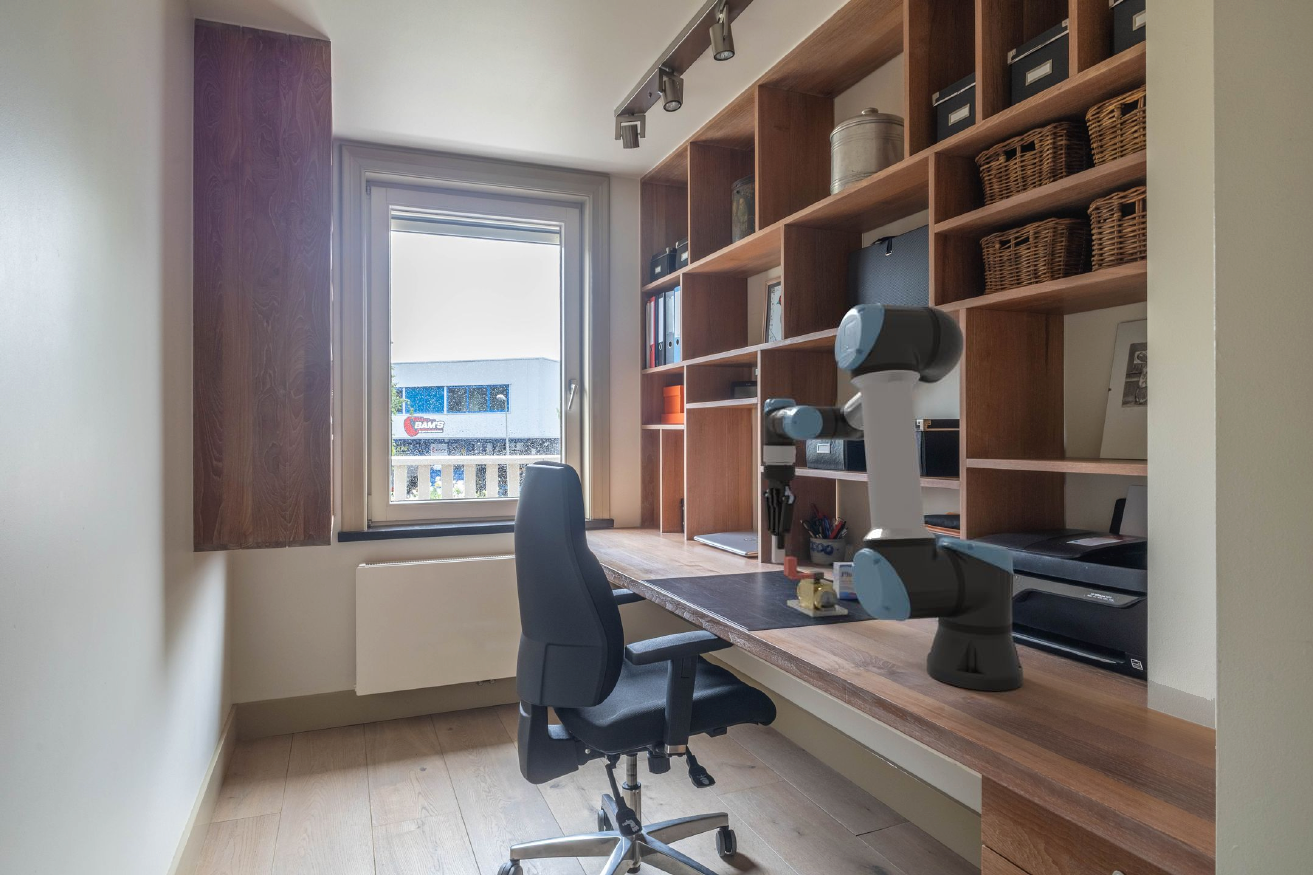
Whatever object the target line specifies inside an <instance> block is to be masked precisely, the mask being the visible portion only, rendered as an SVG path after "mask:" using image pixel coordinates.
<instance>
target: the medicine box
mask: <svg viewBox="0 0 1313 875" xmlns="http://www.w3.org/2000/svg"><path fill="white" fill-rule="evenodd" d="M853 563H854V562H853V561H847V562H846V561H841V562H840V561H837V562H835V561H834V562H833V582H832V583H833V584H834V586H833V589H835V591H836V592H837V596H838V599H839V600H859V599H858V597H857V595H856V592H855V589H854V586H853V581H852V572H851V570H852V564H853Z"/></svg>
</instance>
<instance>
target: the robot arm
mask: <svg viewBox="0 0 1313 875" xmlns="http://www.w3.org/2000/svg"><path fill="white" fill-rule="evenodd" d="M835 337H836V338H835V344H834V358H835V362H836V364H837V365H838V367H839V368H840V369H841V370H843V371H845V372H849V375H850V385H851V386H853V388H855V389H856V390H857V391H858V393H856V394H855V395H854V396H853V397H852V398H851V399H850V400H848V402H846V403H845V404H844V405H843V406H809V405H797V402H796V401H795V399H792V398H769V399H768V398H767V400H766V401H765V402H764V408H763V462H764V463H765V464H764V465H763V473H762V474H763V476H762V477H763V478H762V479H764V480H765V481H768V484H767V490H763V491H762V496H763V500H764V509H765V510H764V511H765V519H766V520H765V521H766V530H767V531H769V533H770V534H771V563H773V564H784V557H786V537H787V535H790V534H791V531H792V524H793V518H794V516H793V515H794V510H795V504H796V500H797V495H796V494H792V492H791V490H792V487H791V481H795V479H796V465H795V464H793V463H796V454H797V450H796V444H797V443H796V441H810V440H811V441H812V440H815V441H816V440H817V441H818V440H819V441H824V440H825V441H826V440H829V441H830V440H831V441H833V440H834V441H836V440H837V441H838V440H839V441H854V442H855V441H857V442H858V441H862V440H864V451H865V464H866V466H865V467H866V475H867V478H866V480H867V488H868V489H867V490H868V491H867V492H868V501H869V502H868V503H869V512H870V513H869V514H870V526H871V528H870V530H869V531H868V532H867V534H866V535H865V536H864V537H863V539H862V541H863V548H862V549H860V550H859V551H857V552H856V553H855V555H854V556H853V559H852V562H854V563H853V564H852V570H851V572H852V581H853V586H854V589H855V592H856V595H857V597H858V599H857V600H858V602H859V603H860V605H862V607H863V610H865V611H866V612H867V613H868V614H869V615H870V616H872V617H873V618H875V619H878V620H880V621H881V620H882V621H896V622H897V621H898V622H905V621H906V620H908V621H909V620H924V619H938V620H937V629H936V633H935V634H934V638H933V641H932V644H931V648H930V651H929V652H928V654H927V656H926V672H927V674H928V675H929V676H931V677H932V678H933V679H936V680H937V681H939V682H942V683H945V684H948V685H950V686H956V687H960V688H962V689H963V688H965V689H970V690H976V691H985V692H986V691H989V692H993V691H994V692H1003V691H1011V690H1014V689H1018V688H1020V687H1022V686H1023V683H1024V668H1023V666H1022V664H1021V662H1020V658H1019V654H1018V650H1017V647H1016V643H1015V641H1014V637H1013V595H1014V590H1013V589H1014V588H1013V587H1014V576H1015V572H1014V565H1013V564H1014V563H1013V562H1014V561H1013V555H1012V554H1013V553H1011V551H1010V550H1009V549H1008V548H1006V547H1004V546H1001V545H997V544H992V543H988V542H982V541H976V540H971V539H964V538H963V539H962V538H956V537H955V538H954V537H947V536H945V537H941V538H939V542H938V543H937V539H936V535H934V533H933V532H932V531H930V530H929V529H928V528H927V527H926V524H925V514H924V506H923V505H924V504H923V494H922V493H923V492H922V480H921V470H920V462H919V461H920V460H919V451H918V449H919V448H918V440H917V429H916V428H917V427H916V419H915V418H916V417H915V406H914V398H913V397H914V396H913V395H914V394H915V393H916V392H917V391H919V390H920V389H922V388H923V387H924V386H926V385H929V384H935V383H938V382H940V381H941V380H942V379H943V378H945V377H946V376H947V375H949V374H950V373H951V372H952V371H953V370H954V369H955V367H956V366H957V365H958V364H959V362H960V360H961V358H962V355H963V351H964V346H965V345H964V344H965V340H964V334H963V331H962V328H961V326H960V324H959V323H958V322H957V320H956V319H955V318H954V317H953V316H952V315H950V314H949V313H948V312H946V311H944V310H942V309H939V308H937V307H933V306H912V305H911V306H910V305H908V306H907V305H897V304H896V305H895V304H894V305H892V304H882V303H873V304H858V305H855V306H854V307H852V308H851V309H850V310H848V312H846V314H845V315H844V317H843V318H842V320H841V323H840V325H839V327H838V330H837V334H836V336H835ZM937 546H938V547H937Z"/></svg>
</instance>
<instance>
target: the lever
mask: <svg viewBox="0 0 1313 875" xmlns="http://www.w3.org/2000/svg"><path fill="white" fill-rule="evenodd" d="M797 571H798V557H795V556H785V557H784V563H783V575H785V576H787V578H788V579H790V580H803V579H816V580H821V579H823V580H825V572H824V571H820V570H810V572H803V573H798V572H797Z"/></svg>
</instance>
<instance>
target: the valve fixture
mask: <svg viewBox="0 0 1313 875" xmlns="http://www.w3.org/2000/svg"><path fill="white" fill-rule="evenodd" d="M833 583H834V582H831V581H828V580H825V579H821V580H816V579H811V578H808V579H800V582H799V583H798V584H797V587H796V588H797V589H796V596H797V598H798V599H788V600H786V605H787V606H789V607H791V608H794V609H796V610H797V611H799V612H801V613H803V614H805V615H808V616H809V617H812V618H814V617H815V618H817V617H828V616H843V615H848V613H849V612H848V609H846V608H845V607H842V606H840V605H837V603H838V599H839V598H838V596H837V592H836V591H835V589H833V586H834V584H833Z"/></svg>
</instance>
